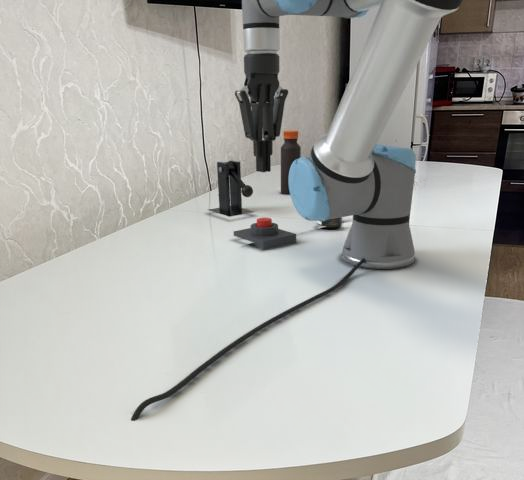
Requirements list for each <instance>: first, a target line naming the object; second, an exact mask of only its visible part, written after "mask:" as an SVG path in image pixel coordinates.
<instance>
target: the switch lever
mask: <svg viewBox="0 0 524 480" xmlns="http://www.w3.org/2000/svg"><path fill="white" fill-rule="evenodd" d="M224 163H228V164H229V175H231V176H232V177H233V178H234V180H235V181H236V182H237V183H238V185H239V186H240V187H241V196H243V197H245V198H250V197H252V195H253V193H254V189H253V187H252V186H251V185H249V184H245V182H244V181H243V179H242V178H241V179H240V178H239V176H238V175H237V174H236V173H235V172H234V171H235V166H234V165H233V164H232V163H231V162H229V161H224Z"/></svg>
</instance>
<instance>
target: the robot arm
mask: <svg viewBox="0 0 524 480" xmlns="http://www.w3.org/2000/svg"><path fill="white" fill-rule="evenodd" d="M463 1H464V0H241V13H242V15H241V16H242V42H243V43H242V44H243V45H242V46H243V52H245V53H246V54H244V56H243V72H244V75H245V79H244V84H243V87H241V88H240V89H239V90H235V91H234V96H235V98H236V100H237V102H238V105H239V110H240V115H241V116H240V117H241V122H242V126H243V131H244V136H245V138H246V139H248V140H250V141H252V144H253V145H252V146H253V147H252V149H253V150H252V151H253V157H255V172H259V173H266V172H267V173H269V172H272V169H271V166H272V165H271V164H272V163H271V162H272V161H271V156H273V152H274V151H273V147H274V146H273V145H274V144H273V142H275V141H276V139H277V138H278V137H280V135H281V130H282V124H283V118H284V117H283V116H284V110H285V104H286V101H287V97H288V95H289V89H287V88H283V87H281V86H280V81H279V76H278V75H279V73H280V55H279V54H278V52H279V51H280V47H281V45H280V44H281V43H280V17H283V16H284V17H285V16H309V17H310V16H311V17H335V18H344V19H355V18H361V17H364V16H365V15H366V14H367V13H368V12H369V11H370V10H371V9H375V8H378V11H377V13H376V16H375V18H374V20H373V22H372V25H371V27H370V29H369V32H368V35H367V37H366V39H365V42H364V43H363V47H362V49H361V51H360V54H359V56H358V58H357V61H356V62H355V63H356V64H355V66H354V68H353V70H352V73H351V75H350V78H349V80H348V83H347V85H346V87H345V90H344V92H343V95H342V97H341V99H340V102H339V104H338V107H337V110H336V112H335V114H334V116H333V118H332V120H331V124H330V126H329V129H328V130H327V132H326V133H323V134H321V135H319V136H318V137H317V138H316V139H315V140H314V143H313V145H312V148H311V150H310V152H309V154H308V155H307V156H301V157H300V158H299V159H296V160H295V161H294V162H293V163H292V165H291V167H290V171H289V179H288V182H289V191H290V194H289V195H290V199H291V202H292V205H293V206H294V209H295V210H296V212H297V213H298V215H299V216H300V217H302V218H303V220H307V221H308V222H309V221H310V222H317V221H326V220H329V219H334V218H340V217H342V218H346V217H352V222H351V225H350V228H349V231H348V233H347V236H346V239H345V241H344V243H343V247H342V250H341V251H342V253H341V258H342V260H343V261H344V262H345V263H347V264H349V265H352V266H353V267H352V268H351V269H350V271H349V272H348V273H347V274H346V275H345V276H344V277H343V278H342V279H340V281H338V282H337V283H336V284H334V285H332V286H331V287H330V288H328V289H326V290H323V291H322V292H320V293H318V294H316V295H313V296H312V297H310V298H308V299H306V300H304V301H302V302H299V303H298V304H296V305H294V306H292V307H290V308H288V309H287V310H284V311H283V312H281V313H279V314H277V315H275V316H273V317H271V318H270V319H268V320H266V321H264V322H263V323H261V324H259V325H258V326H256V327H254V328H253V329H250V330H249V331H247V332H246V333H244V334H243V335H242V336H240V337H239V338H237V339H236V340H234V341H232V342H231V343H230V344H228V345H227V346H225V347H223V349H221V350H219V351H218V352H217V353H216V354H214V355H213V356H211V357H210V358H209V359H207V360H206V361H205V362H204V363H202V364H201V365H199V366H198V367H196V369H194V370H193V371H192V372H191V373H189V374H188V375H187V376H186V377H185V378H184V379H182V380H181V381H180V382H178V383H177V384H176V385H174V386H173V387H171V388H170V389H168V390H167V391H164V392H163V393H160V394H157V395H154V396H152V397H149V398H147V399H145V400H143V401H142V402H140V404H139V405H138V406H137V407H136V408H135V410H134V412H133V413H132V416H131V418H130V421H131V422H133V421H134V422H136V421H137V420H138V419H139V417H140V416H141V414H142V413H143V411H144V410H145V409H146V408H147V407H148V406H150V405H152V404H154V403H157V402H161V401H163V400H165V399H168V398H170V397H172V396H173V395H174V394H176V393H177V392H178V391H180V390H181V389H182V388H184V387H185V386H186V385H188V384H189V383H190V382H191V381H193V380H194V379H195V378H196V377H197V376H199V375H200V374H201V373H202V372H203V371H205V370H206V369H207V368H208V367H210V366H211V365H212V364H214V363H215V362H216V361H218V360H219V359H220V358H222V357H223V356H224V355H227V353H228V352H230V351H231V350H233V349H234V348H236V347H237V346H238V345H241V343H243V342H244V341H246V340H247V339H249V338H250V337H252V336H253V335H255V334H257V333H258V332H260V331H261V330H263V329H265V328H267V327H268V326H270V325H272V324H273V323H275V322H278V321H279V320H280V319H282V318H284V317H286V316H288V315H290V314H292V313H294V312H295V311H297V310H299V309H301V308H303V307H305V306H307V305H309V304H310V303H313V302H315V301H316V300H318V299H321V298H323V297H325V296H326V295H328V294H330V293H332V292H334V291H335V290H337V289H338V288H340V287H341V286H342V285H343V284H344V283H345V282H346V281H347V280H348V279H350V277H351V276H353V274H354V273H355V272H356V271H357V270H358V269H359V268H363V269H372V270H394V269H401V268H405V267H408V266H411V265H412V264H413V263H414V261H415V255H416V253H415V252H416V251H415V245H414V242H413V241H414V240H413V236H412V232H411V227H410V218H411V210H412V204H413V203H412V202H413V194H414V185H415V179H416V178H415V177H416V173H417V169H416V161H417V155H416V153H415V151H414V150H413V149H411V148H408V147H401V146H392V145H382V144H378V142H379V141H380V138H381V137H382V134H383V132H384V131H385V129H386V127H387V125H388V122H389V121H390V119H391V117H392V114H393V113H394V111H395V109H396V107H397V105H398V103H399V101H400V100H401V97H402V95H403V94H404V91H405V90H406V87H407V86H408V83H409V82H410V79H411V78H412V76H413V74H414V71H416V68H417V66H418V64H419V62H420V60H421V58H422V56H423V54H424V52H425V50H426V48H427V47H428V44H429V42H430V40H431V38H432V37H433V34H434V32H435V31H436V30H437V27H438V25H439V24H440V21H441V19H442V18H443V17H445V16H446V15H449V14H452V13H454V12H456V11H458V9H459V8H460V7H461V5H462V3H463Z"/></svg>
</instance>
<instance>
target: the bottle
mask: <svg viewBox="0 0 524 480" xmlns="http://www.w3.org/2000/svg"><path fill="white" fill-rule="evenodd" d="M298 140H299V131H298V130H284V131H283V141H284V143H283V144H282V145H281V146H280V193H281V194H283V195H290V191H289V182H288V179H289V171H290V167H291V165H292V163H293V162H294V161H295V160H296V159H299V158H300V157H302V154H301V153H302V152H301V151H302V148H301V146H300V144H299V143H298Z"/></svg>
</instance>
